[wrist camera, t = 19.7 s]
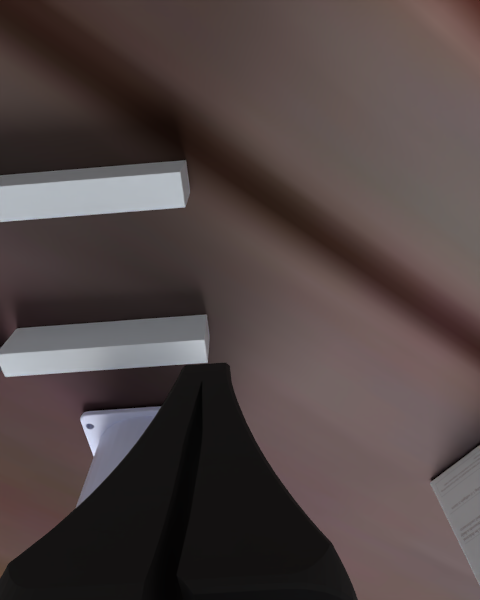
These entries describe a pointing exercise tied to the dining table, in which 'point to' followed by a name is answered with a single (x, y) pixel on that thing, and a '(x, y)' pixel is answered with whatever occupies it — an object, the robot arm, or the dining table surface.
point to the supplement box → (463, 504)
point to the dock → (115, 334)
